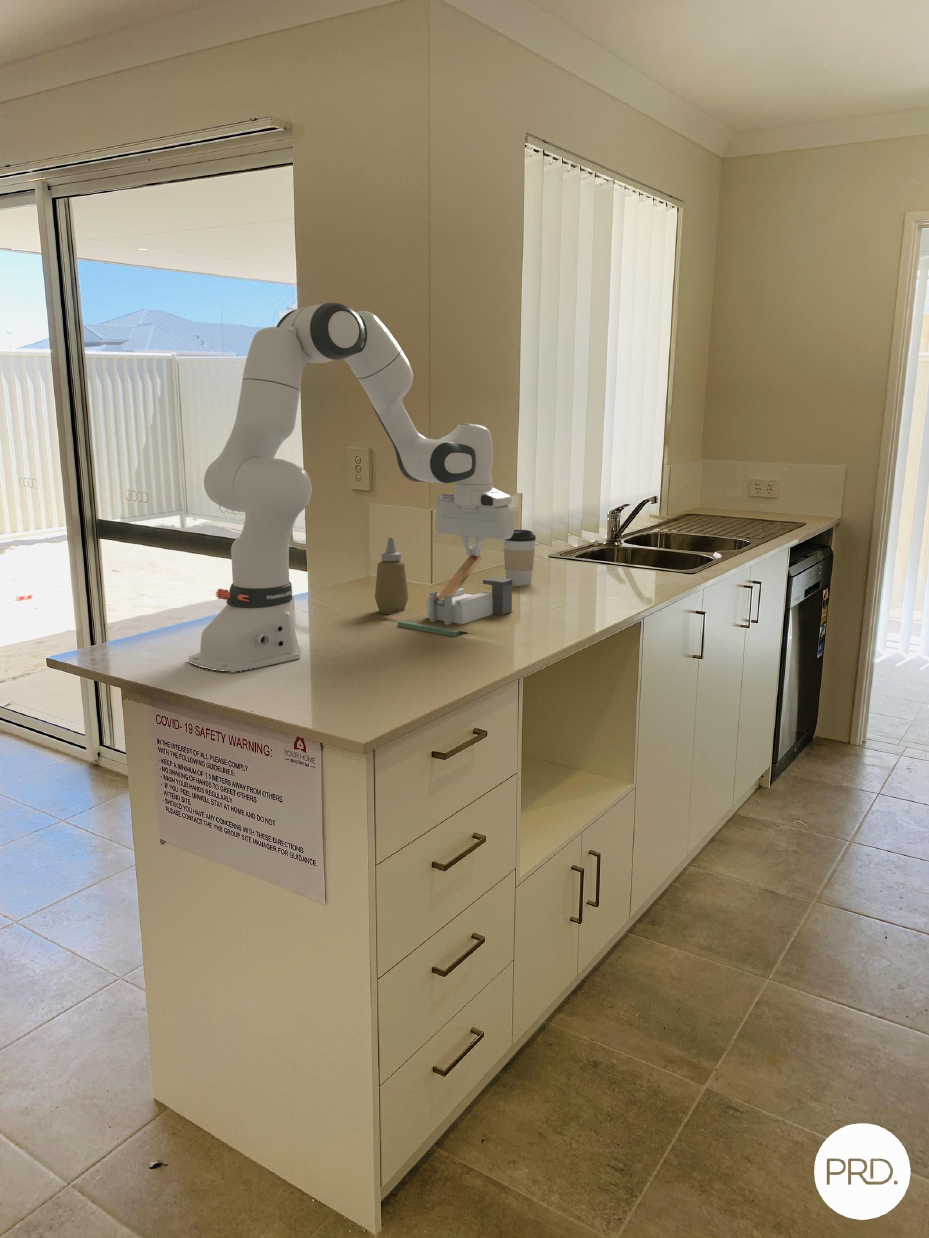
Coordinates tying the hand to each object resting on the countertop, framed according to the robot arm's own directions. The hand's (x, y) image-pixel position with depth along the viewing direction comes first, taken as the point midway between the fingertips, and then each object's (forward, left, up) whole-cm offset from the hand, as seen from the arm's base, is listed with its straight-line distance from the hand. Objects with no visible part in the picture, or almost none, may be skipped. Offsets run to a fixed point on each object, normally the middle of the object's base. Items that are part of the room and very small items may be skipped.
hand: (473, 555), depth 219 cm
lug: (+3, -5, -13) cm, 15 cm away
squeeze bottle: (-8, +18, -15) cm, 25 cm away
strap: (-6, 0, -6) cm, 8 cm away
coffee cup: (+40, +12, -15) cm, 44 cm away
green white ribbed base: (-6, 0, -15) cm, 16 cm away
